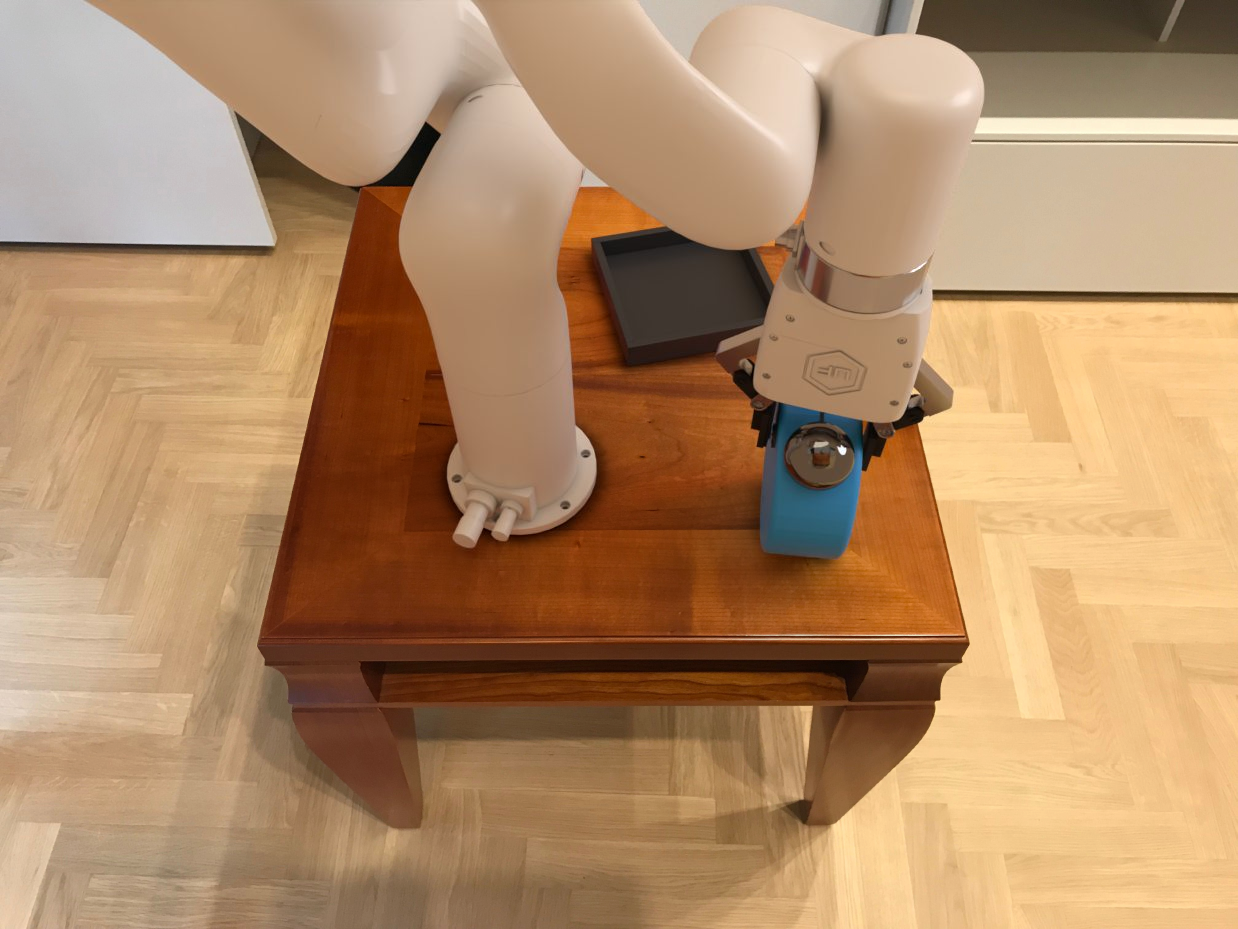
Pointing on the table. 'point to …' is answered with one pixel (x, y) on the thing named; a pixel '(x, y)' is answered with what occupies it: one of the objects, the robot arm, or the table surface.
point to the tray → (678, 293)
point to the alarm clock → (810, 482)
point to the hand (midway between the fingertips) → (814, 443)
